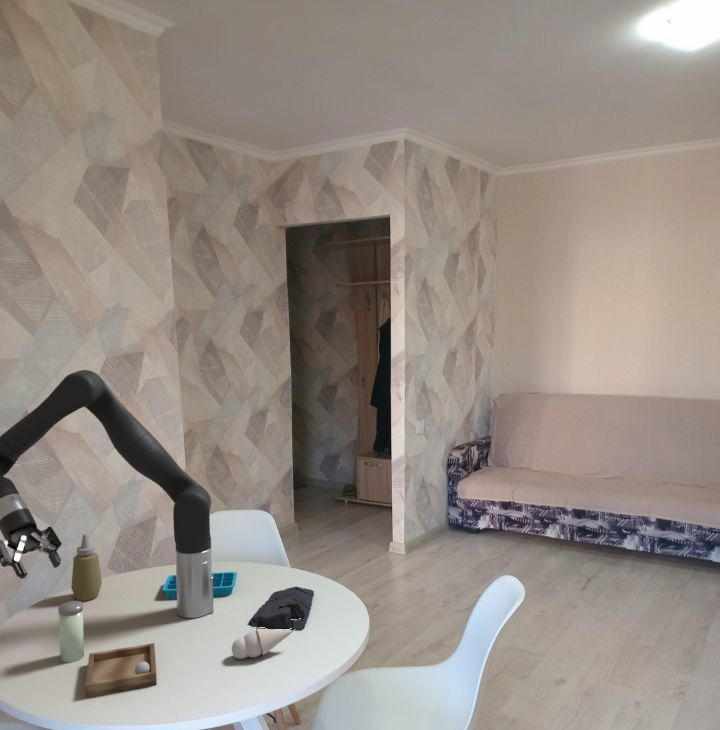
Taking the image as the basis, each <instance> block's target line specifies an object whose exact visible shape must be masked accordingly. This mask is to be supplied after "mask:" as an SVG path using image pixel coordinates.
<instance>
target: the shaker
mask: <svg viewBox="0 0 720 730" xmlns="http://www.w3.org/2000/svg"><path fill="white" fill-rule="evenodd" d="M57 612H58V617H59V618H58V622H59V648H60V649H59V653H60V654H59V655H60V661H61V662H62V663H65V664H66V663H76V662H77V661H79V660H82V659H83V658H84V657H85V640H84V639H85V638H84V601H79V600H70V601H66V602H64V603H61V604H60V605H58V610H57Z"/></svg>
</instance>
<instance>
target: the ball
mask: <svg viewBox="0 0 720 730" xmlns="http://www.w3.org/2000/svg"><path fill="white" fill-rule="evenodd" d="M149 669H150V667H149V664H148V663H147V662H144V661H143V662H140V663H138V664H137V665H136V667H135V673H136V674H141V673H147V672H149Z"/></svg>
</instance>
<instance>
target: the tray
mask: <svg viewBox="0 0 720 730" xmlns="http://www.w3.org/2000/svg"><path fill="white" fill-rule="evenodd" d="M155 648H156V647H155V642H153V643H146V644H140V645H133V646H129V647H123V648H122V647H121V648H117V649H116V648H115V649H109V650H104V651H103V650H102V651H97V652H90V653H89V655H88V661H87V662H88V663H87V668H86V669H87V670H86V675H85V676H86V677H85V683H84V693H85V696H84V697H85V698H91V697H97V696H101V695H108V694H112V693H119V692H123V691H129V690H135V689H139V688H140V689H141V688H145V687H151V686H156V685H157V683H158V682H157V679H158V678H157V662H156V649H155ZM143 661H144V662H147V663H148V664H149V667H150V669H149V672H147V673H141V674H136V673H135V667H136V665H137V664H138V663H140V662H143Z"/></svg>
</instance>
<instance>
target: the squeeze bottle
mask: <svg viewBox="0 0 720 730" xmlns="http://www.w3.org/2000/svg"><path fill="white" fill-rule="evenodd" d="M99 559H100V558H99V554H98V553H96V552H95V546H94V545H93V544H91V542H90V538H89V535H88V534H86V533H85V534H83V535H82V539H81V544H80V546H79V547H77V548H76V555H75V556H74V557H73V563H72V576H71V587H70V588H71V590H72V593H73V595H74V598H75V600H76V601H81V602H85V601H91V600H93V599H94V600H95V599H96V598H97V597H98V596H99V594H100V590H101V587H102V584H103V581H102V573H101V565H100V560H99Z"/></svg>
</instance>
